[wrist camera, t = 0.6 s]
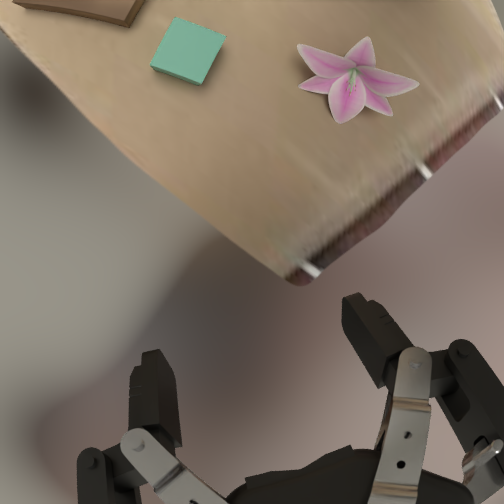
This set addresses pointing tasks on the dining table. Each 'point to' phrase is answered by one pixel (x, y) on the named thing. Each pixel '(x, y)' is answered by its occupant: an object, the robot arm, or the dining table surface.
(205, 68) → the green cube
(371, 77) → the lily
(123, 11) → the walnut base
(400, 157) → the dining table surface
